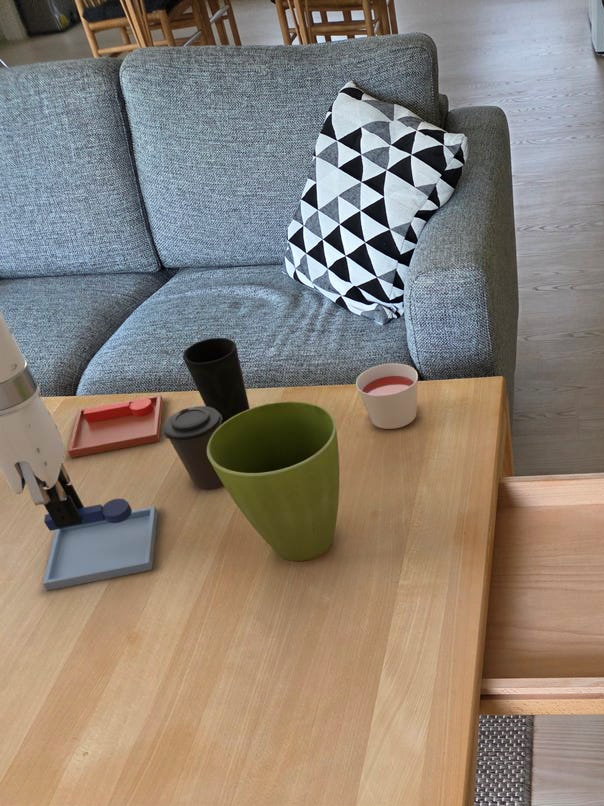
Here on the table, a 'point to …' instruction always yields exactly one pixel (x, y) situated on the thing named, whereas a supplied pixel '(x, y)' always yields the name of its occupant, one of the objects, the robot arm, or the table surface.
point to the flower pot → (282, 474)
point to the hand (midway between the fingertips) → (71, 518)
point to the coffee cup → (195, 442)
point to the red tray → (115, 431)
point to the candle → (389, 394)
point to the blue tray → (102, 550)
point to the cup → (218, 375)
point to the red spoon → (119, 410)
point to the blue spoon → (99, 513)
